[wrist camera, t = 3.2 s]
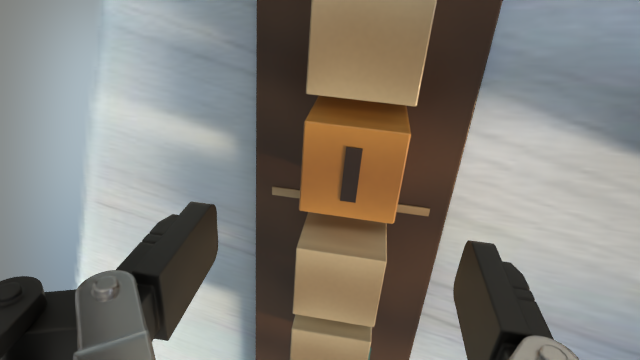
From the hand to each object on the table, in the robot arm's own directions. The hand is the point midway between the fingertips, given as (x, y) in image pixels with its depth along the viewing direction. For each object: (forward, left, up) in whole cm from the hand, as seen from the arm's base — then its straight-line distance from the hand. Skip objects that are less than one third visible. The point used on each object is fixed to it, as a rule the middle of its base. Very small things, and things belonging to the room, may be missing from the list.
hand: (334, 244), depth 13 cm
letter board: (+2, +2, -10) cm, 11 cm away
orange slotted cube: (0, 0, -10) cm, 10 cm away
